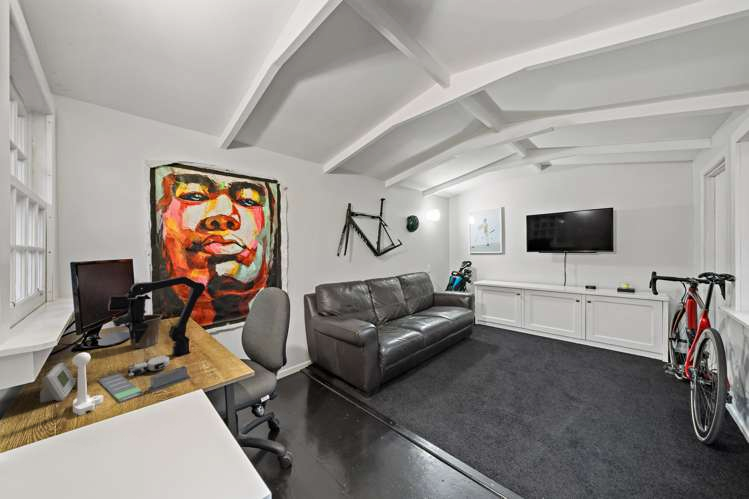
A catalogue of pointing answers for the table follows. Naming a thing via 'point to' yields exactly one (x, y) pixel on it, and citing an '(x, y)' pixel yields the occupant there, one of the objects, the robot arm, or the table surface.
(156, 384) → the grey wedge block
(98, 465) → the table surface
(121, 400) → the scale strip
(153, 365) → the robot toy
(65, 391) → the digital clock
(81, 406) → the joystick
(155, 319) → the plant pot
